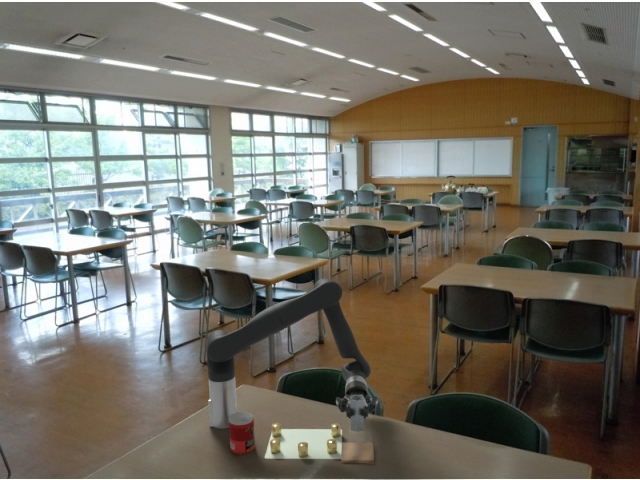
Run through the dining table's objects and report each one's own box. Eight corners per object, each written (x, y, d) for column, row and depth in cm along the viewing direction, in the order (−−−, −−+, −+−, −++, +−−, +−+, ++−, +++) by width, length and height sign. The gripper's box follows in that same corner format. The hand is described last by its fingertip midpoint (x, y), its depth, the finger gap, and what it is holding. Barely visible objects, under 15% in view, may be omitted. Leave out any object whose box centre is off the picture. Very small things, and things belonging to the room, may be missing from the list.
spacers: (265, 457, 165) (265, 447, 164) (272, 432, 180) (272, 423, 179) (340, 458, 163) (339, 447, 163) (340, 432, 178) (340, 423, 178)
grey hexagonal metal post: (351, 431, 162) (350, 401, 161) (351, 424, 167) (350, 394, 165) (364, 431, 162) (363, 401, 160) (363, 424, 167) (363, 394, 165)
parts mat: (264, 459, 164) (264, 458, 164) (272, 430, 182) (272, 429, 182) (341, 460, 163) (341, 458, 163) (342, 430, 181) (342, 429, 181)
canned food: (250, 456, 166) (249, 424, 165) (226, 454, 168) (224, 422, 166) (258, 443, 174) (256, 412, 172) (235, 441, 175) (233, 410, 174)
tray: (341, 463, 161) (341, 460, 161) (341, 446, 171) (341, 442, 171) (374, 464, 160) (374, 460, 160) (372, 446, 170) (372, 442, 170)
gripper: (335, 380, 177) (333, 404, 160) (377, 379, 177) (380, 404, 160) (335, 401, 179) (334, 427, 162) (377, 400, 178) (380, 427, 161)
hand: (357, 415), depth 161 cm, fingers closed on grey hexagonal metal post, 4 cm apart
